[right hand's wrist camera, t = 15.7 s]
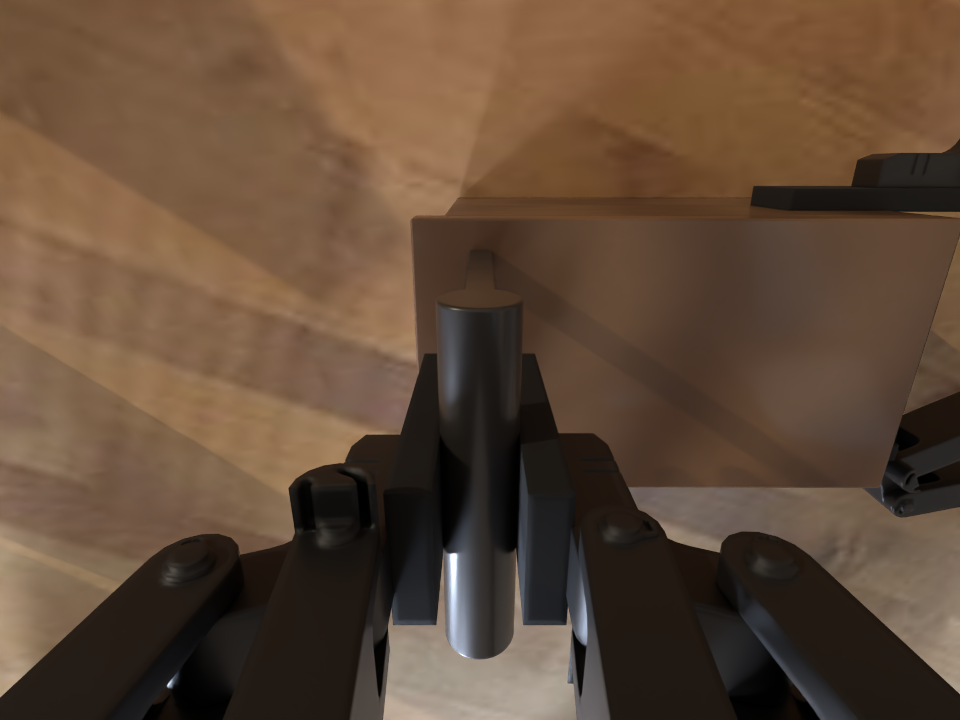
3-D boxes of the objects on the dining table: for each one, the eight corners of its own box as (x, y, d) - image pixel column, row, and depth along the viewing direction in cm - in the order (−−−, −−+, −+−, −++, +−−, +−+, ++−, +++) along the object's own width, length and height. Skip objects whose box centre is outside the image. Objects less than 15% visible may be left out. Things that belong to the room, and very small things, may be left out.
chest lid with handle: (425, 471, 19) (386, 685, 11) (414, 215, 16) (347, 262, 8) (860, 472, 19) (1128, 687, 11) (936, 215, 16) (1387, 263, 8)
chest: (460, 370, 29) (449, 471, 19) (457, 197, 26) (443, 215, 16) (733, 371, 29) (859, 471, 19) (766, 197, 26) (935, 215, 16)
